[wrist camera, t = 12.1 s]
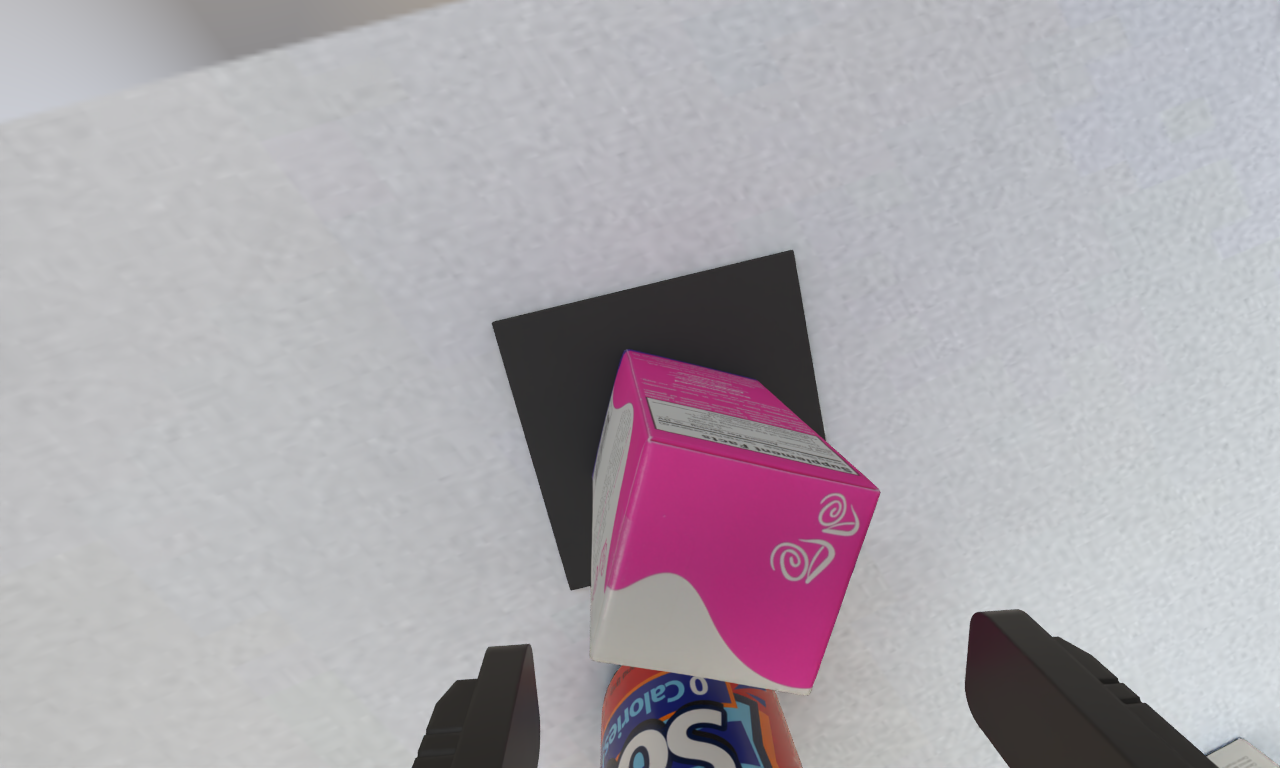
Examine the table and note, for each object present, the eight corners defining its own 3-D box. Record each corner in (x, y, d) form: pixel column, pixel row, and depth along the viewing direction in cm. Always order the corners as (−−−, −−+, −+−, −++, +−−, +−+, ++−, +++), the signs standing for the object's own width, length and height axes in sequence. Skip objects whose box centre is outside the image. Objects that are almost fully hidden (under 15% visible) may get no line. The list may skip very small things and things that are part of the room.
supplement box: (726, 507, 26) (811, 710, 15) (589, 477, 25) (571, 665, 14) (765, 377, 25) (891, 493, 14) (622, 343, 24) (631, 434, 13)
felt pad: (492, 322, 24) (491, 322, 24) (791, 249, 24) (793, 250, 24) (570, 587, 27) (570, 590, 27) (838, 524, 27) (840, 527, 26)
